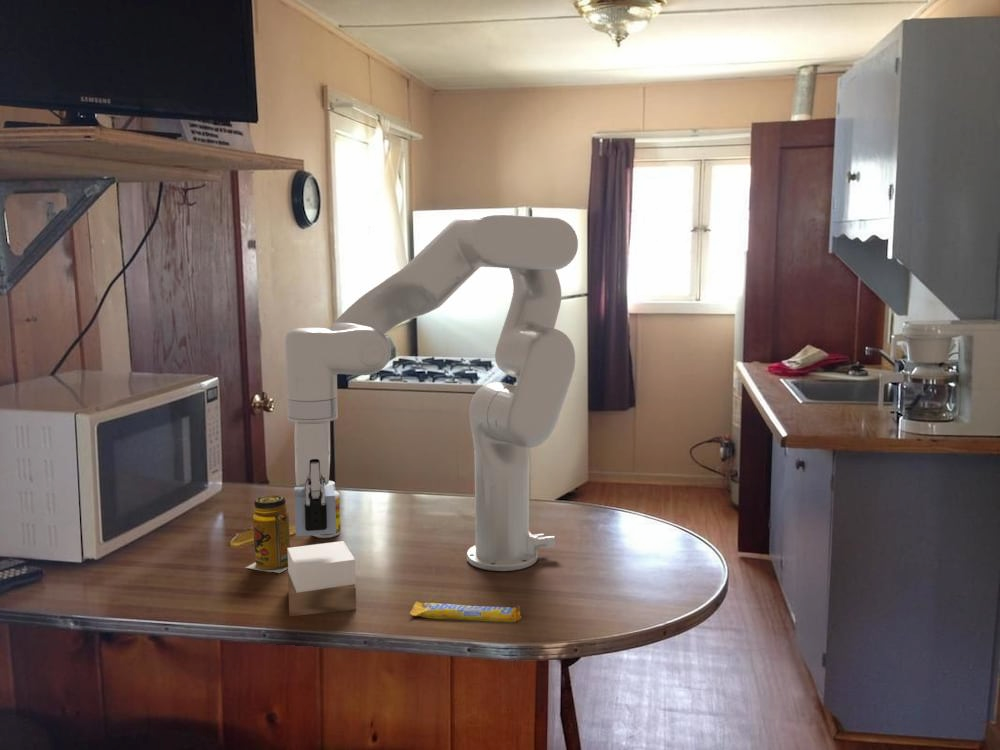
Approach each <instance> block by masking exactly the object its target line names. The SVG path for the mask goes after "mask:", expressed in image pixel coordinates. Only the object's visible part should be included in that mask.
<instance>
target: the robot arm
mask: <svg viewBox="0 0 1000 750" xmlns="http://www.w3.org/2000/svg"><path fill="white" fill-rule="evenodd" d="M578 247H579V239H578V235H577V233H576V231H575V229H574V228H573V226H572V225H571V224H570V223H569V222H567V221H565V220H564V219H561V218H558V217H548V216H547V217H546V216H545V217H544V216H530V215H516V214H515V215H514V214H505V213H495V212H493V213H492V212H491V213H490V212H488V213H487V212H486V213H469V214H465V215H461V216H458V217H457V218H455V219H454V220H453V221H451V222H450V223H449V224H448V225H447V226H446V227H445V228H444V229H442V231H441V232H440V233H438V234H437V236H435V237H434V238H433V239H432V240H431V241H430V242H429V243H428V244H427V245H426V246H425V247H424V248H423V249H421V251H420V252H419V253H418V254H417V255H415V256H413V259H411V260H410V261H409V262H408V263H407V264H406V265H405V266H403V267H402V268H401V269H400V270H399V271H397V272H396V273H394V274H392V275H391V276H389V277H388V278H386V279H385V280H384V281H382V282H380V284H378V285H377V286H375V287H373V288H372V289H370V290H369V291H368V292H366V293H364V294H363V295H362V296H361V297H359V298H358V299H357V300H356V301H355V302H354V303H353V304H351V305H350V306H349V307H347V309H345V311H344V312H343V313H342V314H341V315H340V316H338V317H337V318H336V319H335V320H334V321H333V323H331V325H330V326H329V327H328V328H325V327H324V328H323V327H299V328H294V329H291V330H289V331H288V332H287V333H286V335H285V338H284V339H285V341H284V342H285V345H284V346H285V347H284V348H285V349H284V350H285V373H286V374H285V376H286V379H285V380H286V382H285V383H286V407H287V408H286V409H287V411H286V412H287V421H289V422H292V423H294V432H293V433H294V435H293V437H294V441H293V442H294V465H295V466H294V469H295V470H294V471H295V472H294V473H295V485H296V487H301V486H305V487H306V505H305V529H306V530H307V531H314V530H325V529H327V509H326V503H325V493H324V487H325V486H326V485H327V484H328V483H329V481H330V471H331V470H330V467H331V422H333V421H335V420H337V419H338V418H339V413H338V410H339V409H338V375H352V376H353V375H354V376H370V375H374V374H376V373H379V372H381V371H382V370H383V369H384V368H385V367H386V366H387V365H388V363H389V362H390V359H391V355H392V347H391V343H390V341H389V339H388V337H386V336H387V335H385V334H387V332H389V331H390V330H392V329H393V328H395V327H397V326H399V324H402V323H403V322H406V321H408V320H411V319H413V318H417V317H420V316H423V315H426V314H428V313H431V312H432V311H435V310H438V308H440V307H441V306H442V305H443V304H444V303H446V302H447V300H448V299H449V298H450V297H451V296H453V294H454V293H455V292H457V290H458V289H460V287H461V286H462V285H463V284H464V283H465V282H467V280H468V279H469V278H471V276H473V274H474V273H476V272H477V271H478V270H479V269H481V267H482V268H483V267H484V268H499V269H501V268H502V269H509V272H510V275H511V279H512V283H513V286H512V287H513V291H512V297H511V301H510V305H509V308H508V312H507V314H506V317H505V319H504V323H503V326H502V330H501V332H500V335H499V338H498V341H497V343H496V344H497V345H496V346H495V354H494V358H495V363H496V366H497V368H498V369H499V370H500V371H502V372H503V373H504V374H506V375H508V376H510V377H513V378H516V379H518V380H517V384H516V385H514V384H511V383H507V382H499V381H498V382H490V383H487V384H484V385H482V386H481V387H479V388H478V389H477V391H476V392H475V393H474V394H473V396H472V398H471V401H470V404H469V409H468V415H469V416H468V418H469V425H470V429H471V430H470V431H471V437H472V442H473V454H474V455H473V457H474V526H475V527H474V528H475V529H474V535H475V536H474V537H475V538H474V539H475V540H474V541H475V542H474V545H473V546H471V547H469V549H468V550H467V552H466V560H467V562H468V563H469V564H470V565H472V566H473V567H475V568H478V569H481V570H485V571H486V570H487V571H493V572H507V571H508V572H512V571H518V570H523V569H526V568H528V567H531V566H533V565H534V564H535V563H537V561H538V559H539V558H538V555H539V554H538V550H539V548H554V547H556V537H555V535H549V536H545V534H544V533H536V534H532V533H531V531H530V459H529V458H530V457H529V452H528V449H534V448H537V447H539V446H541V445H543V444H544V443H546V442H547V440H548V439H549V438H550V437H551V436H552V434H553V432H554V431H555V429H556V426H557V424H558V421H559V418H560V414H561V412H562V409H563V406H564V403H565V401H566V400H565V399H566V396H567V394H568V390H569V389H570V384H571V382H572V378H573V374H574V370H575V366H576V352H575V351H576V350H575V348H574V344H573V342H572V340H571V339H570V337H569V336H568V335H567V334H566V333H565V332H563V331H562V330H560V329H557V328H555V327H556V322H557V320H558V316H559V312H560V309H561V303H562V287H561V286H562V285H561V282H560V277H559V275H558V273H557V271H558V270H561V269H564V268H566V267H567V266H568V265H570V264H571V262H572V261H573V260H574V259H575V257H576V255H577V253H578V249H579V248H578ZM319 481H320V483H319ZM324 483H325V485H324ZM309 489H311V491H310V492H309ZM320 489H321V491H320Z"/></svg>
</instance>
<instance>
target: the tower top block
mask: <svg viewBox="0 0 1000 750" xmlns="http://www.w3.org/2000/svg"><path fill="white" fill-rule="evenodd" d="M287 551H288V569H287V572H289V575H290V577H291V580H292V582H293V585H294V587H295V590H296V592H297V593H298V592H305V591H312V590H319V589H326V588H333V587H339V586H346V585H353V584H355V585H356V582H357V581H356V559H355V557H354V556H353V554H352V551H350V550H349V548H348V546H347V544H346V543H345V541H344V540H341V541H333V542H324V543H316V544H307V545H301V546H293V547H291V546H290V548H287Z"/></svg>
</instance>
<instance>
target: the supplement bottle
mask: <svg viewBox="0 0 1000 750" xmlns="http://www.w3.org/2000/svg"><path fill="white" fill-rule="evenodd" d="M319 483H320V481H319ZM324 485H325V483H324ZM327 485H333V486H334V492H335V512H336V534H322V535H312V536H313V537H315V538H319V539H329V538H333V537H336V536H338V535H339V534H340V533H341V506H340V505H341V502H340V501H341V499H340V498H341V497H340V492H338V491H337V490H336V483H335V481H333V480H329V483H328V484H327Z"/></svg>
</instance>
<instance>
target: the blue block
mask: <svg viewBox="0 0 1000 750" xmlns="http://www.w3.org/2000/svg"><path fill="white" fill-rule="evenodd" d="M310 491H311V489H309V492H310ZM320 491H321V489H320ZM324 493H325V503H326V509H327V529H325V530H314V531H307V530H306V529H305V505H306V486H300V487H298V486H295V487H294V516H295V517H294V519H295V520H294V521H295V523H294V524H295V525H294V526H295V537H306V536H313V535H322V534H336V512H335V492H334V486H333V485H326V486H325V487H324Z"/></svg>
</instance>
